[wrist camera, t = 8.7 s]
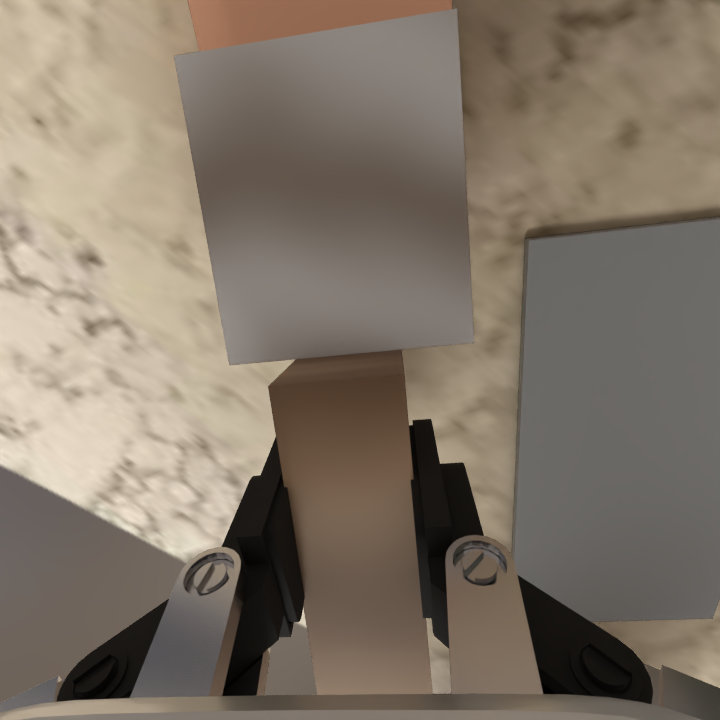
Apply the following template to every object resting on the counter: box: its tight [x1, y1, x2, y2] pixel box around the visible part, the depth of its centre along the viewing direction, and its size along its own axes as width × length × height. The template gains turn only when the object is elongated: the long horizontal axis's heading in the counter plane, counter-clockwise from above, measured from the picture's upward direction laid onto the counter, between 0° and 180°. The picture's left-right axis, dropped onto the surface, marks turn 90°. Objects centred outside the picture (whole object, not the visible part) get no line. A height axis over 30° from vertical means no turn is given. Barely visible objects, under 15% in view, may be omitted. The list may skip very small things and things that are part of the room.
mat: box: [512, 217, 720, 622], centre depth 21 cm, size 24×12×1 cm, turn 7°
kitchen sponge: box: [188, 0, 452, 51], centre depth 14 cm, size 2×8×10 cm
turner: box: [174, 8, 474, 695], centre depth 11 cm, size 20×7×4 cm, turn 7°
